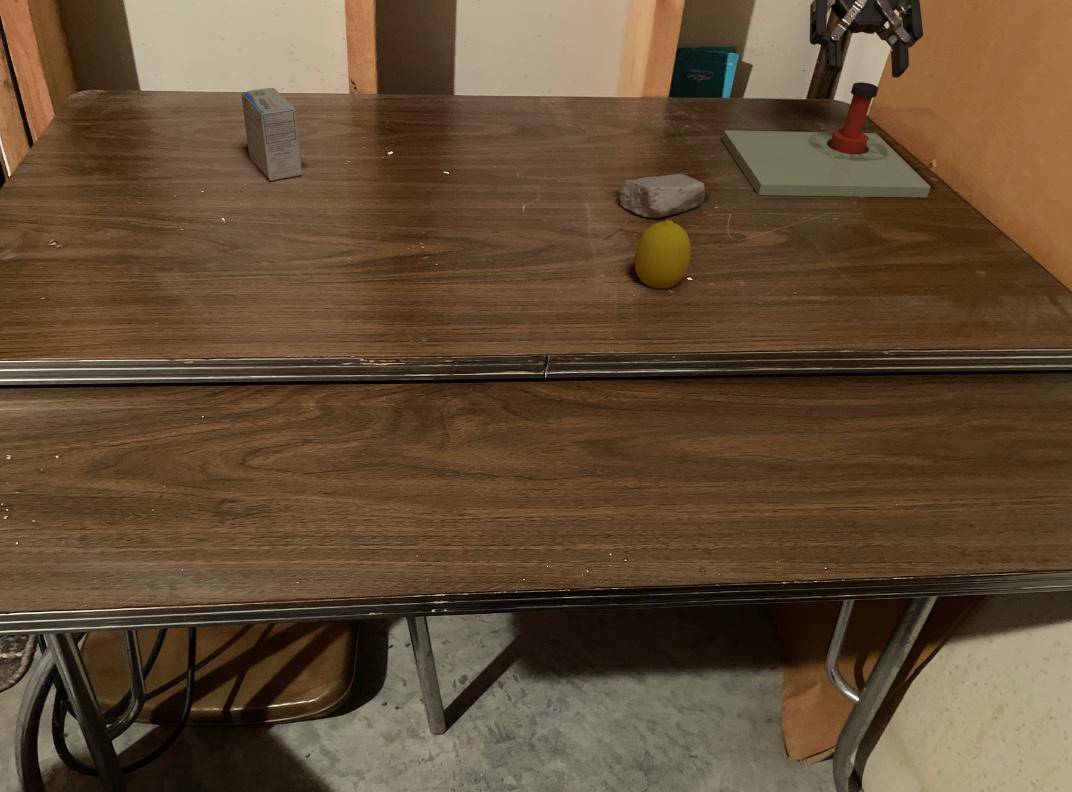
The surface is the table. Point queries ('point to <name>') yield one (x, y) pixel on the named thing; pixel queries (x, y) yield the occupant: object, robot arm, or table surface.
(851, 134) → the stopper
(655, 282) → the lemon
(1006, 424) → the table surface
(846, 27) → the robot arm
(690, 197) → the grey chipped rock
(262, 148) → the medicine box
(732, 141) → the drain plate
